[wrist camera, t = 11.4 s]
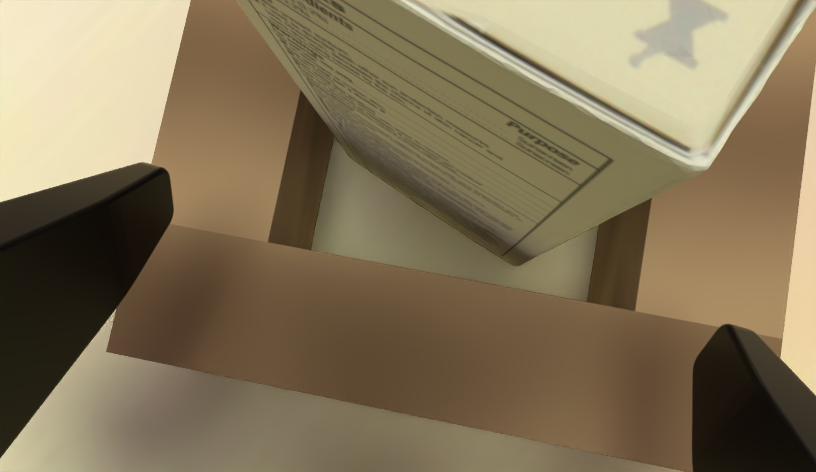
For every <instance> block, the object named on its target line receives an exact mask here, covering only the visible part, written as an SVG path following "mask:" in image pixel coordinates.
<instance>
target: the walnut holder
mask: <svg viewBox="0 0 816 472" xmlns="http://www.w3.org/2000/svg"><path fill="white" fill-rule="evenodd" d="M815 65H816V8H815V9H814V11H813V12H812V13H811V15H810V16H809V17H808V19H807V20H806V22H805V23H804V25H803V27H802V29H801V31H800V32H799V33H798V35H797V36H796V38H795V39H794V41H793V42H792V43H791V45H790V46H789V48H788V49H787V51H786V52H785V53H784V55H783V57H782V58H781V60H780V62H779V63H778V64H777V66H776V67H775V69H774V70H773V72H772V73H771V74H770V76H769V78H768V79H767V81H766V83H765V85H764V86H763V88H762V90H761V92H760V93H759V95H758V96H757V98H756V99H755V100H754V102H753V103H752V104H751V106H750V107H749V109H748V110H747V111H746V113H745V114H744V115H743V117H742V118H741V120H740V121H739V122H738V124H737V125H736V126H735V128H734V129H733V131H732V132H731V134H730V135H729V137H728V139H727V140H726V142H725V144H724V146H723V147H722V149H721V150H720V152H719V153H718V155H717V156H716V158H715V159H714V161H713V162H712V164H711V165H710V167H709V168H708V170H706V171H704V172H703V173H701V174H699V175H697V176H695V177H693V178H691V179H689V180H687V181H685V182H683V183H681V184H679V185H677V186H675V187H673V188H671V189H669V190H667V191H665V192H663V193H661V194H659V195H657V196H654V197H652V198H650V199H648V200H646V201H644V202H642V203H640V204H638V205H636V206H634V207H632V208H630V209H628V210H626V211H624V212H622V213H620V214H618V215H616V216H614V217H612V218H610V219H608V220H607V221H605V222H603V223H601V224H599V230H598V236H597V243H596V249H595V256H594V262H593V268H592V275H591V281H590V288H589V294H588V300H587V302H583V301H578V300H573V299H568V298H562V297H557V296H552V295H546V294H541V293H536V292H530V291H525V290H520V289H514V288H509V287H504V286H498V285H493V284H488V283H482V282H477V281H472V280H466V279H461V278H456V277H450V276H445V275H440V274H434V273H429V272H424V271H418V270H413V269H408V268H402V267H397V266H392V265H386V264H381V263H376V262H370V261H365V260H360V259H354V258H349V257H344V256H338V255H333V254H328V253H322V252H317V251H312V250H310V248H311V243H312V239H313V234H314V229H315V224H316V219H317V215H318V210H319V205H320V200H321V195H322V191H323V186H324V181H325V176H326V171H327V167H328V162H329V157H330V152H331V147H332V143H333V138H334V134H333V133H332V132H331V130H330V129H329V128H328V126H327V125H326V123H325V122H324V121H323V119H322V118H321V117H320V115H319V114H318V113H317V111H316V110H315V109H314V107H313V106H312V104H311V103H310V102H309V100H308V99H307V98H306V96H305V95H304V93H303V92H302V91H301V89H300V88H299V87H298V85H297V84H296V83H295V81H294V80H293V79H292V77H291V76H290V74H289V73H288V72H287V70H286V69H285V68H284V66H283V65H282V63H281V62H280V61H279V59H278V58H277V57H276V55H275V54H274V52H273V51H272V50H271V48H270V47H269V45H268V44H267V43H266V41H265V40H264V38H263V37H262V36H261V34H260V33H259V31H258V30H257V29H256V27H255V26H254V25H253V23H252V22H251V20H250V19H249V18H248V16H247V15H246V14H245V12H244V11H243V9H242V8H241V7H240V5H239V4H238V3H237V1H236V0H191V2H190V7H189V11H188V15H187V19H186V23H185V27H184V31H183V36H182V40H181V44H180V48H179V52H178V56H177V60H176V65H175V69H174V73H173V77H172V81H171V85H170V90H169V94H168V98H167V102H166V106H165V110H164V114H163V119H162V123H161V127H160V131H159V135H158V139H157V143H156V148H155V152H154V156H153V160H152V165H156V166H160V167H163V168H165V169H166V170H167V171H168V173H169V175H170V180H171V188H172V196H173V204H174V214H173V218H172V221H171V223H170V225H169V226H168V228H167V230H166V231H165V233H164V235H163V236H162V238H161V239H160V241H159V243H158V244H157V246H156V248H155V249H154V251H153V253H152V254H151V256H150V258H149V259H148V261H147V263H146V264H145V266H144V268H143V269H142V271H141V273H140V274H139V276H138V278H137V279H136V281H135V282H134V284H133V285H132V287H131V289H130V290H129V292H128V293H127V295H126V296H125V297H124V299H123V300H122V301H121V303H120V304H119V305H118V307H117V309H116V313H115V318H114V322H113V326H112V330H111V334H110V338H109V342H108V347H107V351H106V352H110V353H115V354H119V355H124V356H129V357H134V358H139V359H144V360H148V361H153V362H158V363H163V364H168V365H173V366H177V367H182V368H187V369H192V370H197V371H202V372H206V373H211V374H216V375H221V376H226V377H231V378H236V379H240V380H245V381H250V382H255V383H260V384H265V385H269V386H274V387H279V388H284V389H289V390H294V391H298V392H303V393H308V394H313V395H318V396H323V397H327V398H332V399H337V400H342V401H347V402H352V403H356V404H361V405H366V406H371V407H376V408H381V409H385V410H390V411H395V412H400V413H405V414H410V415H414V416H419V417H424V418H429V419H434V420H439V421H443V422H448V423H453V424H458V425H463V426H468V427H472V428H477V429H482V430H487V431H492V432H497V433H501V434H506V435H511V436H516V437H521V438H526V439H530V440H535V441H540V442H545V443H550V444H555V445H559V446H564V447H569V448H574V449H579V450H584V451H589V452H593V453H598V454H603V455H608V456H613V457H618V458H622V459H627V460H632V461H637V462H642V463H647V464H651V465H656V466H661V467H666V468H671V469H676V470H680V471H685V472H693V466H692V375H693V365H694V362H695V360H696V357H697V356H698V354H699V353H700V352H701V350H702V349H703V348H704V346H705V345H706V344H707V342H708V341H709V340H710V338H711V337H712V336H713V334H714V333H715V332H716V330H717V329H718V328H719V327H720V326H722V325H723V324H732V325H736V326H739V327H743V328H747V329H750V330H752V331H754V332H755V333H756V334H758V336H759V337H760V338H761V339H762V340H763V341H764V342H765V343H766V344H767V345H768V346H769V347H770V348H771V349H772V350H773V351H774V352H775V353H776V354H777V355H778V357H779V358H780V355H781V347H782V339H783V331H784V322H785V314H786V306H787V297H788V289H789V281H790V273H791V264H792V256H793V248H794V239H795V231H796V223H797V214H798V206H799V198H800V190H801V181H802V173H803V165H804V156H805V148H806V140H807V132H808V123H809V115H810V107H811V98H812V90H813V82H814V73H815Z"/></svg>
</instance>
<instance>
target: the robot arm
mask: <svg viewBox="0 0 816 472" xmlns="http://www.w3.org/2000/svg"><path fill="white" fill-rule="evenodd" d="M173 214H174V204H173V196H172V188H171V180H170V175H169V173H168V171H167V170H166V169H165V168H163V167H160V166H156V165H152V164H149V163H144V162H141V163H137V164H133V165H130V166H126V167H123V168H119V169H116V170H112V171H109V172H105V173H102V174H98V175H95V176H91V177H87V178H84V179H80V180H77V181H73V182H70V183H66V184H63V185H59V186H56V187H52V188H49V189H45V190H42V191H38V192H35V193H31V194H28V195H24V196H21V197H17V198H14V199H10V200H7V201H3V202H0V458H1V457H2V455H3V454H4V453H5V452H6V450H7V449H8V448H9V446H10V445H11V444H12V443H13V441H14V440H15V439H16V437H17V436H18V435H19V433H20V432H21V431H22V430H23V428H24V427H25V426H26V424H27V423H28V422H29V421H30V419H31V418H32V417H33V415H34V414H35V413H36V411H37V410H38V409H39V408H40V406H41V405H42V404H43V402H44V401H45V400H46V399H47V397H48V396H49V395H50V393H51V392H52V391H53V389H54V388H55V387H56V386H57V384H58V383H59V382H60V380H61V379H62V378H63V377H64V375H65V374H66V373H67V371H68V370H69V369H70V367H71V366H72V365H73V364H74V362H75V361H76V360H77V358H78V357H79V356H80V355H81V353H82V352H83V351H84V349H85V348H86V347H87V346H88V344H89V343H90V342H91V340H92V339H93V338H94V336H95V335H96V334H97V333H98V331H99V330H100V329H101V327H102V326H103V325H104V324H105V322H106V321H107V320H108V318H109V317H110V316H111V314H112V313H113V312H114V311H115V309H116V308H117V307H118V305H119V304H120V303H121V301H122V300H123V299H124V297H125V296H126V295H127V293H128V292H129V290H130V289H131V287H132V285H133V284H134V282H135V281H136V279H137V278H138V276H139V274H140V273H141V271H142V269H143V268H144V266H145V264H146V263H147V261H148V259H149V258H150V256H151V254H152V253H153V251H154V249H155V248H156V246H157V244H158V243H159V241H160V239H161V238H162V236H163V235H164V233H165V231H166V230H167V228H168V226H169V225H170V223H171V221H172V218H173ZM692 466H693V472H816V395H815V394H814V393H813V392H812V391H811V390H810V389H809V388H808V387H807V386H806V385H805V384H804V383H803V382H802V381H801V380H800V379H799V378H798V376H797V375H796V374H795V373H794V372H793V371H792V370H791V369H790V368H789V367H788V366H787V365H786V364H785V363H784V362H783V361H782V360H781V359H780V358H779V357H778V355H777V354H776V353H775V352H774V351H773V350H772V349H771V348H770V347H769V346H768V345H767V344H766V343H765V342H764V341H763V340H762V339H761V338H760V337H759V336H758V334H756V333H755V332H754V331H752V330H750V329H747V328H743V327H739V326H736V325H732V324H723V325H722V326H720V327H719V328H718V329H717V330H716V332H715V333H714V334H713V336H712V337H711V338H710V340H709V341H708V342H707V344H706V345H705V346H704V348H703V349H702V350H701V352H700V353H699V354H698V356H697V357H696V360H695V362H694V365H693V375H692Z"/></svg>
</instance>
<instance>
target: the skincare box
mask: <svg viewBox="0 0 816 472" xmlns="http://www.w3.org/2000/svg"><path fill="white" fill-rule="evenodd" d="M236 1H237V3H238V4H239V5H240V7H241V8H242V9H243V11H244V12H245V14H246V15H247V16H248V18H249V19H250V20H251V22H252V23H253V25H254V26H255V27H256V29H257V30H258V31H259V33H260V34H261V36H262V37H263V38H264V40H265V41H266V43H267V44H268V45H269V47H270V48H271V50H272V51H273V52H274V54H275V55H276V57H277V58H278V59H279V61H280V62H281V63H282V65H283V66H284V68H285V69H286V70H287V72H288V73H289V74H290V76H291V77H292V79H293V80H294V81H295V83H296V84H297V85H298V87H299V88H300V89H301V91H302V92H303V93H304V95H305V96H306V98H307V99H308V100H309V102H310V103H311V104H312V106H313V107H314V109H315V110H316V111H317V113H318V114H319V115H320V117H321V118H322V119H323V121H324V122H325V123H326V125H327V126H328V128H329V129H330V130H331V132H332V133H333V134H334V136H335V137H336V139H337V140H338V141H339V143H340V144H341V145H342V147H343V148H344V150H345V151H346V152H347V154H348V155H349V156H350V157H351V158H352V159H354V160H355V161H357V162H358V163H359V164H361V165H362V166H364V167H365V168H367V169H368V170H369V171H371V172H372V173H374V174H375V175H376V176H378V177H379V178H381V179H382V180H384V181H385V182H387V183H388V184H390V185H391V186H392V187H394V188H395V189H397V190H398V191H400V192H401V193H403V194H404V195H406V196H407V197H409V198H410V199H412V200H413V201H415V202H416V203H418V204H419V205H421V206H422V207H423V208H425V209H427V210H428V211H430V212H431V213H433V214H434V215H436V216H437V217H439V218H440V219H442V220H443V221H445V222H446V223H448V224H449V225H451V226H452V227H454V228H455V229H457V230H459V231H460V232H462V233H463V234H465V235H466V236H468V237H469V238H471V239H472V240H474V241H476V242H477V243H479V244H480V245H482V246H484V247H485V248H487V249H488V250H490V251H492V252H493V253H495V254H496V255H498V256H500V257H501V258H503V259H504V260H506V261H508V262H509V263H511V264H513V265H516V266H519V265H521V264H523V263H525V262H527V261H529V260H531V259H533V258H534V257H536V256H538V255H540V254H542V253H544V252H546V251H548V250H550V249H552V248H554V247H556V246H558V245H560V244H562V243H564V242H566V241H568V240H570V239H571V238H574V237H576V236H578V235H580V234H582V233H584V232H586V231H588V230H589V229H591V228H593V227H595V226H597V225H599V224H601V223H603V222H605V221H607V220H608V219H610V218H612V217H614V216H616V215H618V214H620V213H622V212H624V211H626V210H628V209H630V208H632V207H634V206H636V205H638V204H640V203H642V202H644V201H646V200H648V199H650V198H652V197H654V196H657V195H659V194H661V193H663V192H665V191H667V190H669V189H671V188H673V187H675V186H677V185H679V184H681V183H683V182H685V181H687V180H689V179H691V178H693V177H695V176H697V175H699V174H701V173H703V172H704V171H706V170H708V168H709V167H710V165H711V164H712V162H713V161H714V159H715V158H716V156H717V155H718V153H719V152H720V150H721V149H722V147H723V146H724V144H725V142H726V140H727V139H728V137H729V135H730V134H731V132H732V131H733V129H734V128H735V126H736V125H737V124H738V122H739V121H740V120H741V118H742V117H743V115H744V114H745V113H746V111H747V110H748V109H749V107H750V106H751V104H752V103H753V102H754V100H755V99H756V98H757V96H758V95H759V93H760V92H761V90H762V88H763V86H764V85H765V83H766V81H767V79H768V78H769V76H770V74H771V73H772V72H773V70H774V69H775V67H776V66H777V64H778V63H779V62H780V60H781V58H782V57H783V55H784V53H785V52H786V51H787V49H788V48H789V46H790V45H791V43H792V42H793V41H794V39H795V38H796V36H797V35H798V33H799V32H800V31H801V29H802V27H803V25H804V23H805V22H806V20H807V19H808V17H809V16H810V15H811V13H812V12H813V11H814V9H815V8H816V0H236Z"/></svg>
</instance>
